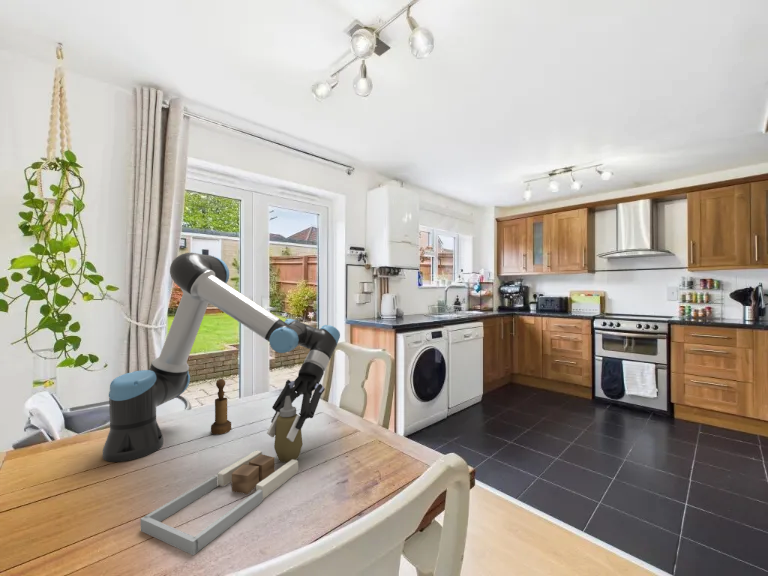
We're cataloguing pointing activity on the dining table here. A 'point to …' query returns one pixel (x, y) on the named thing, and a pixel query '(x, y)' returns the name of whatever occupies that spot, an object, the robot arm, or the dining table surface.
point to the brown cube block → (245, 479)
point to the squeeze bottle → (283, 425)
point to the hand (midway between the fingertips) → (279, 437)
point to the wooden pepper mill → (220, 411)
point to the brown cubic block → (264, 465)
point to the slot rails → (269, 482)
